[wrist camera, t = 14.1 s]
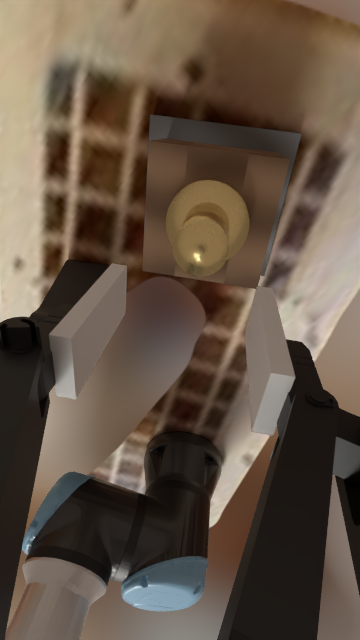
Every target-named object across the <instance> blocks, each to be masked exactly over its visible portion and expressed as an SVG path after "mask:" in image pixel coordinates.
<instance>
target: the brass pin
mask: <svg viewBox="0 0 360 640" xmlns="http://www.w3.org/2000/svg"><path fill="white" fill-rule="evenodd" d="M166 231H167V235H168V238H169V241H170V243H171V245H172V246H173V255H174V258H175V260H176V262H177V264H178V265H179V267H180V268H181V269H182V270H184V271H185V272H187V273H189V274H191V275H194V276H208V275H211V274H214V273H215V272H217V271H218V270H220V269H221V268H222V267H223V265H224V264H225V262H226V260H228V259H230V258H231V257H232V256H234V255H235V254H236V253H237V252H238V251H239V250H240V248H241V247H242V246H243V244H244V242H245V240H246V238H247V235H248V231H249V214H248V209H247V206H246V203H245V201H244V199H243V197H242V196H241V194H240V193H239V192H238V191H237V190H236V189H235V188H234V187H233V186H232V185H230V184H228V183H227V182H224V181H222V180H218V179H212V178H206V179H200V180H196V181H193V182H191V183H189V184H188V185H186V186H185V187H184V188H182V189H181V190H180V191H179V192H178V194H177V195H176V196H175V197H174V199H173V200H172V202H171V204H170V206H169V208H168V211H167V215H166Z"/></svg>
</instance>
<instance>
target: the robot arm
mask: <svg viewBox="0 0 360 640" xmlns="http://www.w3.org/2000/svg"><path fill="white" fill-rule="evenodd" d="M126 284H127V266H126V265H119V264H113V263H112V264H111V265H110V266H109V267H108V269H107V270H106V271H105V272H104V273H103V274H102V275H101V276H100V278H99V279H98V280H97V281H96V282H95V283H94V284H93V285H92V287H91V288H90V289H89V290H88V291H87V292H86V293H85V294H84V296H83V297H82V298H81V299H80V300H79V301H78V302H77V303H76V305H70V304H62V305H60V306H58V307H56V308H54V309H53V310H52V311H51V312H50V313H49V314H48V316H46V317H45V318H44V319H43V321H42V322H40V323H39V322H38V321H37V320H35V319H33V318H30V317H14V318H10V319H7V320H4V321H3V322H1V323H0V640H80V636H81V633H82V630H83V626H84V623H85V620H86V616H87V613H88V609H89V607H90V605H91V604H92V603H93V602H95V601H96V600H97V599H99V598H100V597H101V596H103V595H104V594H105V592H106V588H107V585H108V581H109V579H110V580H114V581H117V582H120V583H122V587H121V591H122V597H123V599H124V600H125V602H127V603H130V604H131V605H132V606H134V607H137V608H140V609H144V610H151V611H172V610H180V609H183V608H187V607H189V606H191V605H193V604H194V603H196V602H197V601H198V600H199V599H200V598H201V596H202V594H203V592H204V587H205V578H206V569H207V566H208V560H207V557H208V537H209V517H210V500H211V498H212V495H213V493H214V490H215V488H216V485H217V483H218V480H219V478H220V475H221V465H222V460H221V455H220V453H219V451H218V450H217V448H216V447H215V446H214V445H213V444H212V443H210V442H209V441H208V440H206V439H204V438H202V437H200V436H197V435H194V434H191V433H185V432H170V433H165V434H162V435H159V436H157V437H155V438H154V439H153V440H152V441H151V442H150V443H149V444H148V446H147V449H146V453H145V457H144V469H145V481H146V492H145V495H143V494H141V493H138V492H135V491H132V490H129V489H127V488H124V487H121V486H118V485H115V484H112V483H109V482H107V481H104V480H101V479H98V478H96V477H95V476H93V475H90V476H88V475H84V474H81V473H77V472H68V473H66V474H64V475H63V476H62V477H61V478H60V479H59V480H58V481H57V482H56V483H55V485H54V486H53V487H52V489H51V490H50V491H49V493H48V494H47V496H46V498H45V499H44V501H43V502H42V504H41V506H40V507H39V509H38V511H37V513H36V514H35V516H34V520H33V521H32V523H31V524H30V526H29V528H28V530H27V532H26V534H25V529H26V523H27V518H28V513H29V508H30V503H31V497H32V492H33V487H34V482H35V476H36V471H37V466H38V461H39V456H40V451H41V445H42V440H43V434H44V429H45V425H46V419H47V414H48V408H49V404H50V400H49V392H50V390H51V389H52V388H53V386H54V385H55V390H56V396H60V397H66V398H71V399H76V398H77V397H78V395H79V393H80V391H81V390H82V388H83V386H84V384H85V383H86V381H87V379H88V377H89V376H90V374H91V372H92V371H93V369H94V367H95V365H96V364H97V362H98V360H99V359H100V357H101V355H102V353H103V352H104V350H105V348H106V346H107V345H108V343H109V341H110V339H111V338H112V336H113V334H114V332H115V330H116V329H117V327H118V326H119V324H120V322H121V320H122V318H123V317H124V315H125V313H126ZM245 341H246V356H247V371H248V386H249V401H250V416H251V431H252V432H256V433H261V434H267V435H273V434H274V431H275V429H276V426H277V428H278V434H279V436H278V439H277V441H276V444H275V446H274V449H273V451H272V454H271V456H270V458H271V460H270V464H269V467H268V470H267V474H266V477H265V481H264V484H263V487H262V491H261V494H260V497H259V501H258V504H257V508H256V511H255V514H254V518H253V521H252V524H251V528H250V531H249V534H248V538H247V541H246V545H245V548H244V552H243V555H242V558H241V561H240V565H239V568H238V571H237V575H236V578H235V582H234V585H233V588H232V592H231V595H230V599H229V602H228V605H227V609H226V612H225V615H224V619H223V622H222V625H221V629H220V632H219V635H218V639H217V640H317V632H318V622H319V610H320V600H321V590H322V580H323V569H324V559H325V548H326V537H327V527H328V516H329V506H330V495H331V485H332V474H335V477H336V482H337V487H338V492H339V497H340V502H341V506H342V511H343V516H344V521H345V526H346V531H347V536H348V541H349V546H350V550H351V556H352V561H353V565H354V570H355V575H356V580H357V585H358V590H359V595H360V417H358V416H356V415H353V414H351V413H348V412H346V411H344V410H342V409H340V408H339V406H338V402H337V401H336V399H335V398H334V396H332V395H331V394H330V393H329V392H327V391H326V390H324V389H323V387H322V384H321V382H320V379H319V376H318V373H317V370H316V368H315V365H314V362H313V360H312V356H311V353H310V350H309V349H308V348H307V347H306V346H305V345H304V344H303V343H302V342H298V341H292V340H286V339H285V335H284V331H283V327H282V323H281V319H280V315H279V312H278V308H277V304H276V300H275V296H274V292H273V288H266V287H260V286H257V288H256V291H255V295H254V299H253V303H252V307H251V311H250V315H249V319H248V323H247V327H246V331H245ZM24 534H25V536H24ZM21 550H23V551H24V552H25V554H28V556H27V558H26V560H25V562H24V565H23V572H24V577H25V580H26V588H25V590H24V592H23V595H22V597H21V599H20V601H19V604H18V606H17V608H16V610H15V612H14V615H13V617H12V619H11V621H10V624H9V626H8V628H7V622H8V617H9V612H10V607H11V601H12V596H13V591H14V586H15V581H16V576H17V569H18V565H19V560H20V555H21ZM6 628H7V630H6Z"/></svg>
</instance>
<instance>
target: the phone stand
mask: <svg viewBox="0 0 360 640" xmlns="http://www.w3.org/2000/svg"><path fill="white" fill-rule="evenodd" d="M108 267H109V265H103V264H95V263H88V262H80V261H73V260H67V261H66V262H65V264H64V266H63V268H62V269H61V271H60V273H59V275H58V276H57V278H56V280H55V281H54V283H53V285H52V287H51V288H50V290H49V292H48V293H47V295H46V297H45V299H44V300H43V302H42V304H41V305H40V307H39V308H38V309H37V310H36V311H35V312H33V313H32V314H31V316H30V318H33V319H35V320H37V321H38V322H39V323H40V322H42V321H43V319H44V318H45V317H46V316H48V314H49V313H50V312H51V311H52V310H53V309H54V308H56V307H58V306H60V305H62V304H70V305H76V303H77V302H78V301H79V300H80V299H81V298H82V297H83V296H84V294H85V293H86V292H87V291H88V290H89V289H90V288H91V287H92V285H93V284H94V283H95V282H96V281H97V280H98V279H99V278H100V276H101V275H102V274H103V273H104V272H105V271H106V270H107V269H108Z"/></svg>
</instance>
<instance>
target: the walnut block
mask: <svg viewBox="0 0 360 640" xmlns="http://www.w3.org/2000/svg"><path fill="white" fill-rule="evenodd" d="M300 138H301V134H300V133H293V132H285V131H277V130H269V129H261V128H253V127H245V126H237V125H230V124H222V123H214V122H206V121H198V120H190V119H182V118H175V117H167V116H159V115H151V114H150V128H149V147H148V166H147V185H146V205H145V224H144V243H143V268H142V271H146V272H152V273H159V274H165V275H172V276H178V277H184V278H191V279H197V280H203V281H210V282H216V283H222V284H229V285H235V286H242V287H248V288H254V289H256V288H257V286H258V283H259V279H260V275H261V276H264V275H265V271H266V267H267V263H268V259H269V256H270V252H271V248H272V244H273V241H274V237H275V233H276V229H277V225H278V222H279V218H280V214H281V210H282V206H283V203H284V199H285V195H286V191H287V187H288V184H289V180H290V176H291V172H292V169H293V165H294V161H295V157H296V153H297V150H298V146H299V142H300ZM206 178H212V179H218V180H222V181H224V182H227V183H228V184H230V185H232V186H233V187H234V188H235V189H236V190H237V191H238V192H239V193H240V194H241V196H242V197H243V199H244V201H245V203H246V206H247V209H248V214H249V231H248V235H247V238H246V240H245V242H244V244H243V246H242V247H241V248H240V250H239V251H238V252H237V253H236V254H235V255H234V256H232V257H231V258H230V259H228V260H226V262H225V264H224V265H223V267H222V268H221V269H220V270H218V271H217V272H215V273H214V274H211V275H208V276H194V275H191V274H189V273H187V272H185V271H184V270H182V269H181V268H180V267H179V265H178V264H177V262H176V260H175V258H174V255H173V246H172V245H171V243H170V241H169V238H168V235H167V231H166V215H167V211H168V208H169V206H170V204H171V202H172V200H173V199H174V197H175V196H176V195H177V194H178V192H179V191H180V190H181V189H182V188H184V187H185V186H186V185H188V184H189V183H191V182H193V181H196V180H200V179H206Z"/></svg>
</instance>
